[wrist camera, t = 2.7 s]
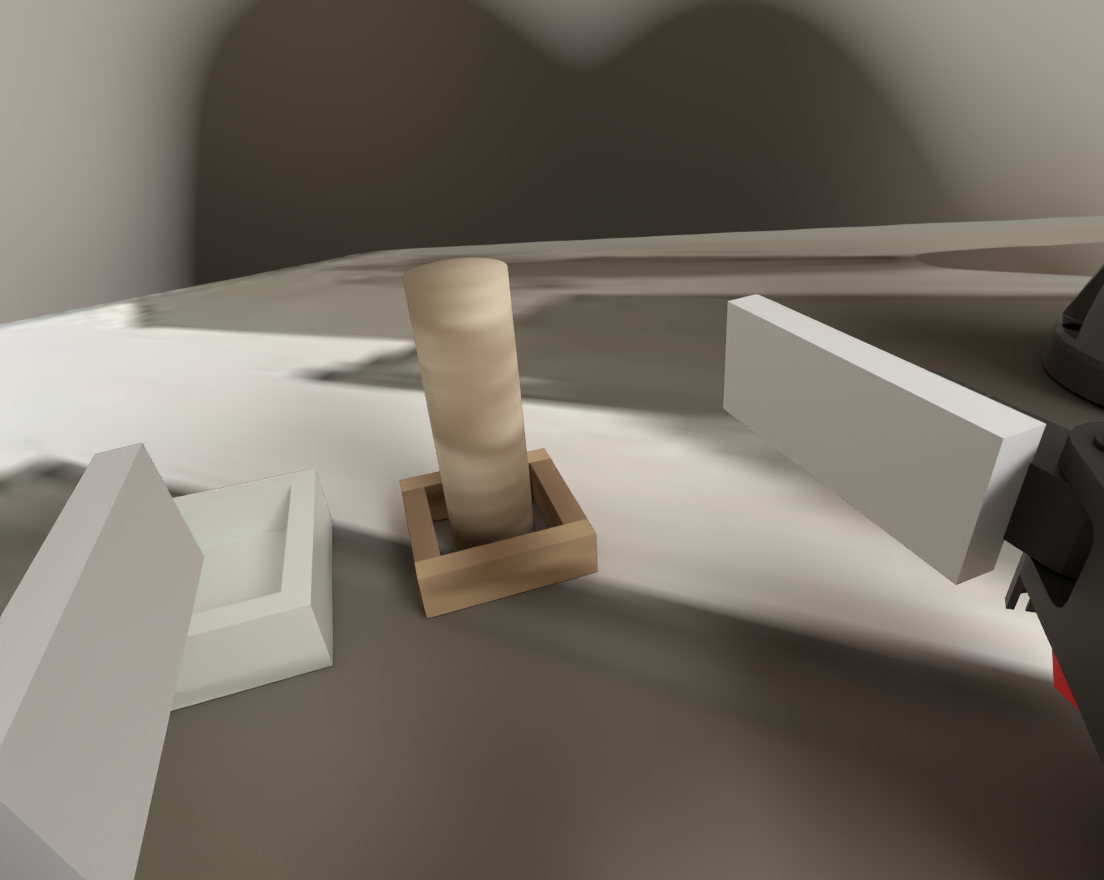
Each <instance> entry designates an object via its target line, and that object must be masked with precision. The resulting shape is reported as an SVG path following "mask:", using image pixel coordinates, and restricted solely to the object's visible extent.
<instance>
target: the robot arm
mask: <svg viewBox="0 0 1104 880" xmlns="http://www.w3.org/2000/svg"><path fill="white" fill-rule="evenodd" d="M1042 362H1043V365H1044V367H1045V369H1046V370H1047V372H1048V373H1049V374H1050V375H1051V376H1052V377H1053V378H1054V379H1055V380H1057V381H1058V382H1059V383H1061V384H1062V385H1063V386H1065V387H1066V388H1068V389H1070V390H1071V391H1073V392H1075V393H1077V394H1078V395H1080V396H1082V397H1084V398H1086V399H1088V400H1091V401H1093V402H1095V403H1097V404H1099V405H1102V406H1104V264H1103V265H1102V266H1101V267H1100V268H1099V270H1098V271H1097V272H1096V273H1095V274H1094V276H1093V277H1092V278H1091V279H1090V281H1089V282H1088V283H1087V284H1086V285H1085V287H1084V288H1083V289H1082V290H1081V292H1080V293H1079V294H1078V295H1077V296H1076V298H1075V299H1074V300H1073V301H1072V302H1071V304H1070V305H1069V306H1068V307H1067V309H1066V310H1065V311H1064V312H1063V313H1062V315H1061V316H1060V317H1059V318H1058V320H1057V321H1056V323H1055V325H1054V327H1053V329H1052V332H1051V334H1050V337H1049V340H1048V343H1047V345H1046V348H1045V351H1044V354H1043V357H1042ZM723 408H724V409H725V410H726V411H728V412H729V413H730V414H731V415H733V416H734V417H735V418H737V419H738V420H739V421H741V422H742V423H743V424H745V425H746V426H747V427H749V428H750V429H751V430H753V431H754V432H755V433H757V434H758V435H759V436H760V437H762V438H763V439H764V440H766V441H767V442H768V443H770V444H771V445H772V446H774V447H775V448H776V449H778V450H779V451H780V452H782V453H783V454H784V455H785V456H787V457H788V458H789V459H791V460H792V461H793V462H795V463H796V464H797V465H799V466H800V467H801V468H803V469H804V470H805V471H807V472H808V473H809V474H811V475H812V476H813V477H814V478H816V479H817V480H818V481H820V482H821V483H822V484H824V485H825V486H826V487H828V488H829V489H830V490H832V491H833V492H834V493H836V494H837V495H838V496H840V497H841V498H842V499H843V500H845V501H846V502H847V503H849V504H850V505H851V506H853V507H854V508H855V509H857V510H858V511H859V512H861V513H862V514H863V515H865V516H866V517H867V518H868V519H870V520H871V521H872V522H874V523H875V524H876V525H878V526H879V527H880V528H882V529H883V530H884V531H886V532H887V533H888V534H890V535H891V536H892V537H894V538H895V539H896V540H897V541H899V542H900V543H901V544H903V545H904V546H905V547H907V548H908V549H909V550H911V551H912V552H913V553H915V554H916V555H917V556H919V557H920V558H921V559H922V560H924V561H925V562H926V563H928V564H929V565H930V566H932V567H933V568H934V569H936V570H937V571H938V572H940V573H941V574H942V575H944V576H945V577H946V578H948V579H949V580H950V581H951V582H953V583H954V584H955V585H957V584H960V583H962V582H965V581H967V580H970V579H972V578H975V577H977V576H980V575H982V574H985V573H987V572H990V571H992V570H994V567H995V564H996V561H997V558H998V556H999V553H1000V550H1001V547H1002V545H1003V542H1004V540H1006V541H1007V542H1009V543H1010V544H1012V545H1013V546H1015V547H1016V548H1018V549H1020V550H1021V551H1023V554H1022V556H1021V559H1020V561H1019V564H1018V566H1017V569H1016V572H1015V574H1014V577H1013V579H1012V582H1011V584H1010V587H1009V590H1008V592H1007V595H1006V597H1005V604H1006V609H1013V610H1014V608H1015V606H1016V603H1017V601H1018V599H1019V596H1020V594H1021V593H1028V595H1029V597H1030V599H1029V602H1028V604H1027V606H1026V609H1025V610H1026V611H1028V612H1036V613H1037V615H1038V618H1039V620H1040V622H1041V625H1042V627H1043V629H1044V631H1045V634H1046V636H1047V638H1048V641H1049V643H1050V645H1051V647H1052V650H1053V652H1054V654H1055V656H1056V659H1057V661H1058V663H1059V666H1060V668H1061V670H1062V672H1063V675H1064V677H1065V679H1066V681H1067V684H1068V686H1069V688H1070V691H1071V693H1072V695H1073V697H1074V700H1075V702H1076V704H1077V707H1078V709H1079V711H1080V713H1081V716H1082V718H1083V720H1084V722H1085V725H1086V727H1087V729H1088V732H1089V734H1090V736H1091V738H1092V741H1093V743H1094V745H1095V748H1096V750H1097V752H1098V754H1099V757H1100V759H1101V761H1102V763H1103V766H1104V422H1098V423H1087V424H1083V425H1080V426H1076V427H1075V428H1074V429H1073V430H1072V431H1070V430H1068V429H1065V428H1063V427H1061V426H1059V425H1056V424H1054V423H1052V422H1050V421H1047V420H1045V419H1043V418H1041V417H1038V416H1036V415H1034V414H1031V413H1029V412H1027V411H1025V410H1022V409H1020V408H1018V407H1016V406H1013V405H1011V404H1009V403H1007V402H1004V401H1002V400H1000V399H998V398H995V397H993V396H992V397H988V396H987V394H986V393H984V392H982V391H980V390H977V389H975V388H973V387H968V388H967V387H966V384H964V383H962V382H959V381H957V380H955V379H953V378H950V377H948V376H946V375H944V374H941V373H939V372H934V371H930V370H926V369H923V368H921V367H918V366H916V365H914V364H912V363H909V362H907V361H905V360H903V359H901V358H898V357H896V356H894V355H892V354H889V353H887V352H885V351H883V350H881V349H878V348H876V347H874V346H872V345H869V344H867V343H865V342H863V341H861V340H858V339H856V338H854V337H852V336H849V335H847V334H845V333H843V332H840V331H838V330H836V329H834V328H832V327H829V326H827V325H825V324H823V323H820V322H818V321H816V320H814V319H812V318H809V317H807V316H805V315H803V314H800V313H798V312H796V311H794V310H792V309H789V308H787V307H785V306H783V305H780V304H778V303H776V302H774V301H771V300H769V299H767V298H765V297H763V296H760V295H758V294H756V295H751V296H747V297H743V298H739V299H735V300H731V301H728V309H727V333H726V357H725V381H724V406H723ZM203 561H204V555H203V553H202V552H201V550H200V548H199V546H198V544H197V542H196V541H195V539H194V537H193V535H192V533H191V531H190V530H189V528H188V526H187V524H186V522H185V520H184V519H183V517H182V515H181V513H180V511H179V509H178V507H177V506H176V504H175V502H174V500H173V498H172V496H171V495H170V493H169V491H168V489H167V487H166V485H165V484H164V482H163V480H162V478H161V476H160V474H159V473H158V471H157V469H156V467H155V465H154V463H153V462H152V460H151V458H150V456H149V454H148V452H147V451H146V449H145V447H144V445H143V443H139V444H135V445H131V446H126V447H122V448H118V449H114V450H110V451H106V452H102V453H97V454H95V455H94V457H93V459H92V460H91V462H90V464H89V466H88V467H87V469H86V471H85V472H84V474H83V476H82V478H81V479H80V481H79V483H78V484H77V486H76V488H75V490H74V491H73V493H72V495H71V496H70V498H69V500H68V502H67V503H66V505H65V507H64V509H63V510H62V512H61V514H60V515H59V517H58V519H57V521H56V522H55V524H54V526H53V527H52V529H51V531H50V533H49V534H48V536H47V538H46V539H45V541H44V543H43V545H42V546H41V548H40V550H39V552H38V553H37V555H36V557H35V558H34V560H33V562H32V564H31V565H30V567H29V569H28V570H27V572H26V574H25V576H24V577H23V579H22V581H21V582H20V584H19V586H18V588H17V589H16V591H15V593H14V594H13V596H12V598H11V600H10V601H9V603H8V605H7V607H6V608H5V610H4V612H3V613H2V615H1V617H0V880H134V876H135V872H136V867H137V863H138V858H139V854H140V849H141V844H142V840H143V835H144V831H145V826H146V822H147V817H148V812H149V808H150V803H151V799H152V794H153V790H154V785H155V780H156V776H157V771H158V767H159V762H160V758H161V753H162V748H163V744H164V739H165V735H166V730H167V726H168V721H169V716H170V712H171V707H172V703H173V698H174V694H175V689H176V684H177V680H178V675H179V671H180V666H181V662H182V657H183V652H184V648H185V643H186V639H187V634H188V630H189V625H190V620H191V616H192V611H193V607H194V602H195V598H196V593H197V588H198V584H199V579H200V575H201V570H202V566H203Z"/></svg>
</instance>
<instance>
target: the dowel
mask: <svg viewBox="0 0 1104 880" xmlns="http://www.w3.org/2000/svg"><path fill="white" fill-rule="evenodd" d="M403 282H404V287H405V293H406V298H407V303H408V308H409V313H410V319H411V324H412V329H413V334H414V339H415V345H416V350H417V355H418V360H419V365H420V371H421V376H422V381H423V386H424V391H425V397H426V402H427V407H428V412H429V417H430V423H431V428H432V433H433V438H434V443H435V449H436V454H437V459H438V464H439V469H440V474H441V480H442V485H443V490H444V495H445V500H446V506H447V511H448V516H449V521H450V526H451V532H452V537H453V542H454V547H455V552H458V551H462V550H466V549H470V548H474V547H478V546H482V545H486V544H490V543H493V542H497V541H501V540H505V539H509V538H513V537H517V536H521V535H525V534H529V533H533V532H535V526H534V516H533V507H532V497H531V488H530V478H529V469H528V459H527V450H526V440H525V431H524V421H523V411H522V402H521V392H520V383H519V373H518V364H517V354H516V345H515V335H514V325H513V316H512V306H511V297H510V287H509V278H508V268H507V265H506V264H505V263H504V262H502V261H499V260H495V259H489V258H458V259H449V260H443V261H437V262H432V263H428V264H425V265H421V266H418V267H416V268H413V269H411V270H409V271H408V272H406V273H405V274H404V275H403Z"/></svg>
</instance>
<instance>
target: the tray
mask: <svg viewBox="0 0 1104 880" xmlns="http://www.w3.org/2000/svg"><path fill="white" fill-rule="evenodd" d="M173 500H174V502H175V504H176V506H177V507H178V509H179V511H180V513H181V515H182V517H183V519H184V520H185V522H186V524H187V526H188V528H189V530H190V531H191V533H192V535H193V537H194V539H195V541H196V542H197V544H198V546H199V548H200V550H201V552H202V553H203V555H204V561H203V566H202V570H201V575H200V579H199V584H198V588H197V593H196V598H195V602H194V607H193V611H192V616H191V620H190V625H189V630H188V634H187V639H186V643H185V648H184V652H183V657H182V662H181V666H180V671H179V675H178V680H177V684H176V689H175V694H174V698H173V703H172V707H171V711H173V710H177V709H180V708H184V707H187V706H191V705H194V704H198V703H201V702H205V701H208V700H212V699H215V698H219V697H223V696H226V695H230V694H233V693H237V692H240V691H244V690H247V689H251V688H254V687H258V686H261V685H265V684H268V683H272V682H276V681H279V680H283V679H286V678H290V677H293V676H297V675H300V674H304V673H307V672H311V671H314V670H318V669H322V668H325V667H329V666H332V665H333V590H332V518H331V515H330V512H329V509H328V506H327V502H326V499H325V496H324V493H323V490H322V486H321V483H320V480H319V477H318V474H317V471H316V468H313V469H308V470H303V471H298V472H294V473H289V474H284V475H279V476H275V477H270V478H265V479H260V480H256V481H251V482H246V483H242V484H237V485H232V486H227V487H223V488H218V489H213V490H208V491H204V492H199V493H194V494H189V495H185V496H180V497H175V498H173Z"/></svg>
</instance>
